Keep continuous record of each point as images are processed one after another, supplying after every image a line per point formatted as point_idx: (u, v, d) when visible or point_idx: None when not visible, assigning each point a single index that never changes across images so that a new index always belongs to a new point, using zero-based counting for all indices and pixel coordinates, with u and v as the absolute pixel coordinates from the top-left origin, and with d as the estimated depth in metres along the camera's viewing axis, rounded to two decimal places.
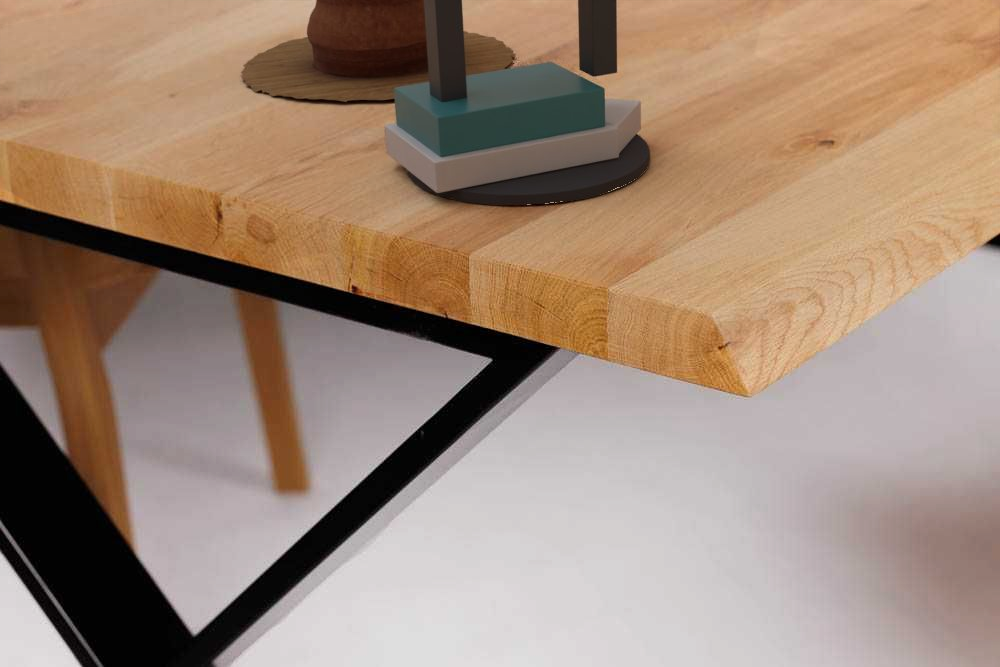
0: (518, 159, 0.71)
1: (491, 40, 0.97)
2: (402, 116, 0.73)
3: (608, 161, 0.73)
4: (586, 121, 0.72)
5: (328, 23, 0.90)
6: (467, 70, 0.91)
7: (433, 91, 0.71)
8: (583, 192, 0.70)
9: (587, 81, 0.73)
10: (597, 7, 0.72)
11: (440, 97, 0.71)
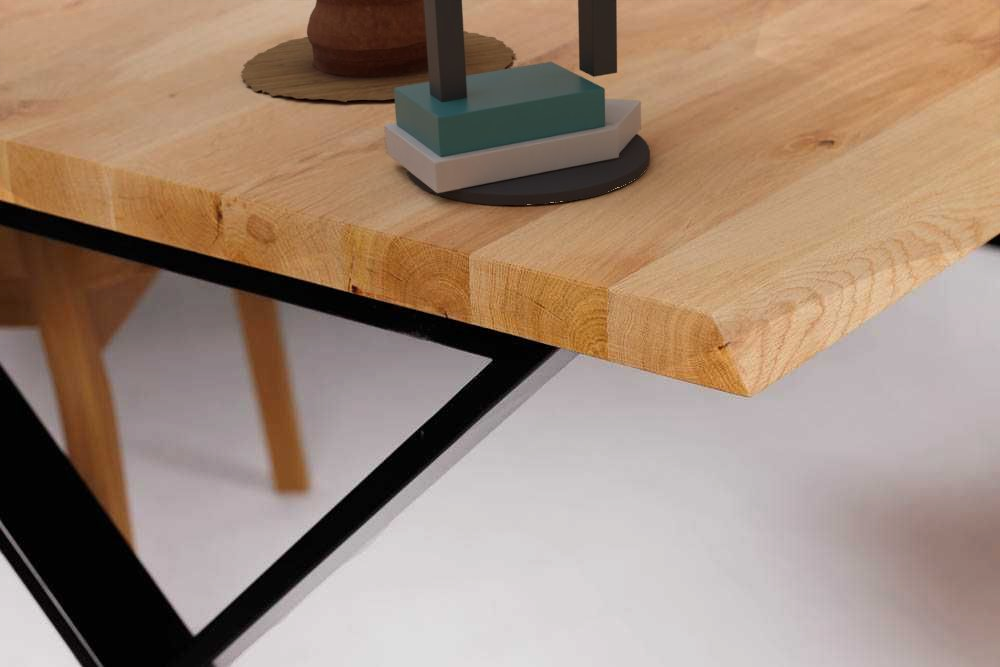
0: (518, 159, 0.71)
1: (491, 40, 0.97)
2: (402, 116, 0.73)
3: (608, 161, 0.73)
4: (586, 121, 0.72)
5: (328, 23, 0.90)
6: (467, 70, 0.91)
7: (433, 91, 0.71)
8: (583, 192, 0.70)
9: (587, 81, 0.73)
10: (597, 7, 0.72)
11: (440, 97, 0.71)
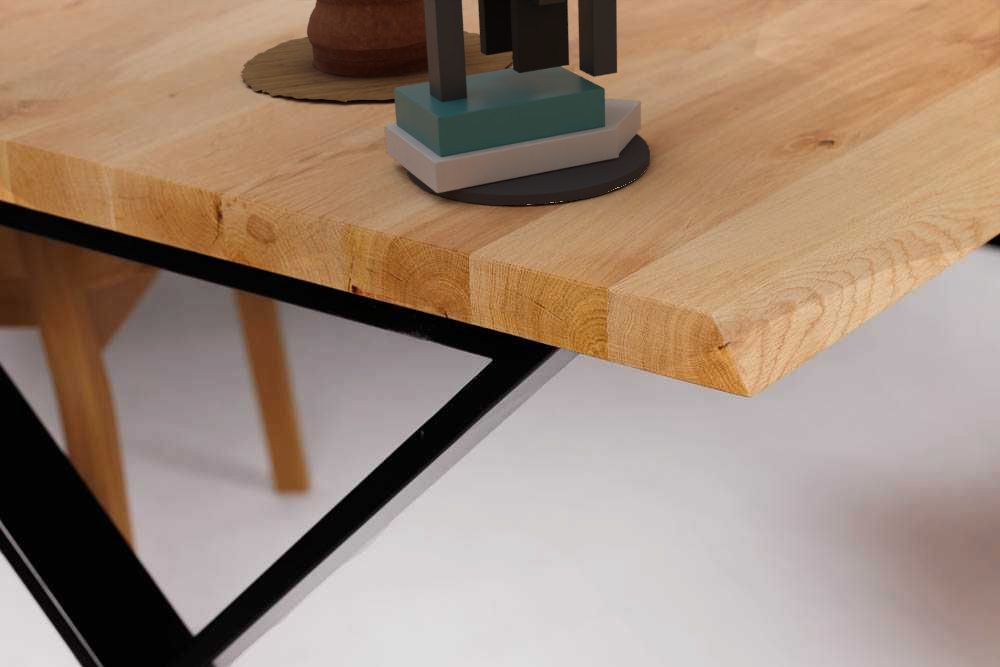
0: (518, 159, 0.71)
1: None
2: (402, 116, 0.73)
3: (608, 161, 0.73)
4: (586, 121, 0.72)
5: (328, 23, 0.90)
6: (467, 70, 0.91)
7: (433, 91, 0.71)
8: (583, 192, 0.70)
9: (587, 81, 0.73)
10: (597, 7, 0.72)
11: (440, 97, 0.71)
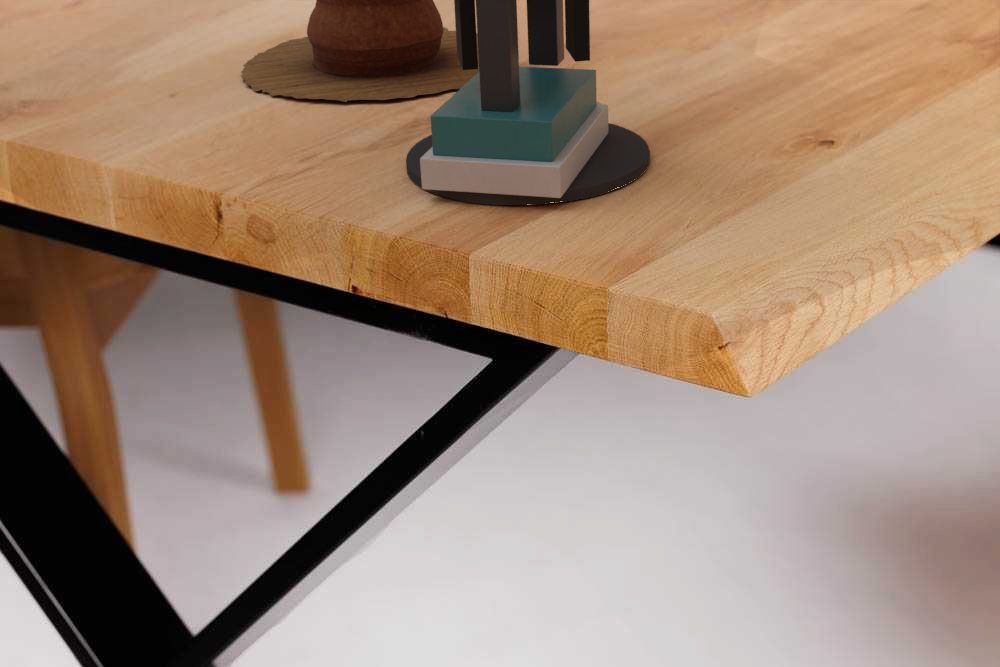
0: (582, 150, 0.71)
1: None
2: (451, 141, 0.69)
3: (608, 161, 0.73)
4: (591, 104, 0.75)
5: (328, 23, 0.90)
6: (467, 70, 0.91)
7: (492, 105, 0.69)
8: (583, 192, 0.70)
9: (567, 69, 0.75)
10: None
11: (509, 107, 0.69)
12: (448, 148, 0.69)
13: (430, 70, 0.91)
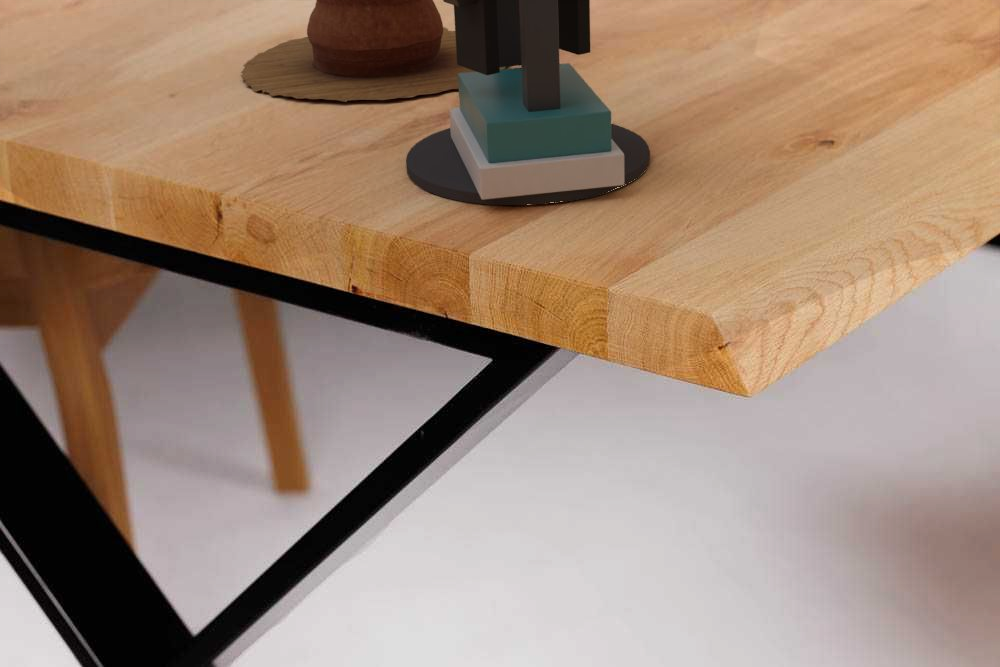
0: None
1: None
2: (508, 146, 0.68)
3: None
4: None
5: (328, 23, 0.90)
6: (467, 70, 0.91)
7: (540, 104, 0.69)
8: (583, 192, 0.70)
9: None
10: None
11: (558, 104, 0.69)
12: (505, 153, 0.68)
13: (430, 70, 0.91)
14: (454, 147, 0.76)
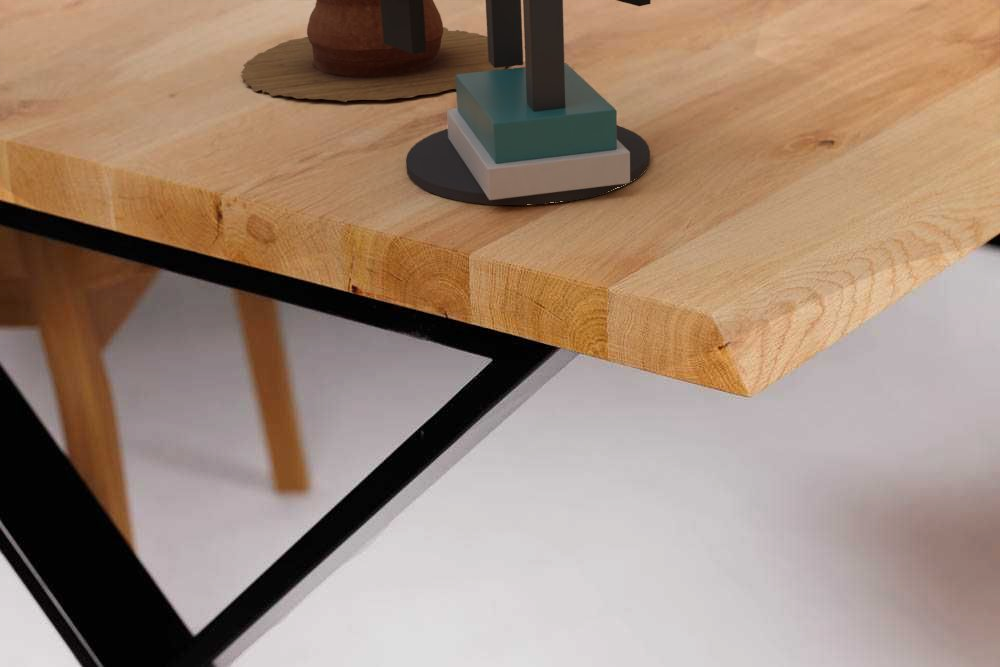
0: None
1: None
2: (515, 146, 0.68)
3: None
4: None
5: (328, 23, 0.90)
6: (467, 70, 0.91)
7: (545, 104, 0.69)
8: (583, 192, 0.70)
9: None
10: None
11: (563, 104, 0.69)
12: (512, 154, 0.68)
13: (430, 70, 0.91)
14: (454, 147, 0.76)
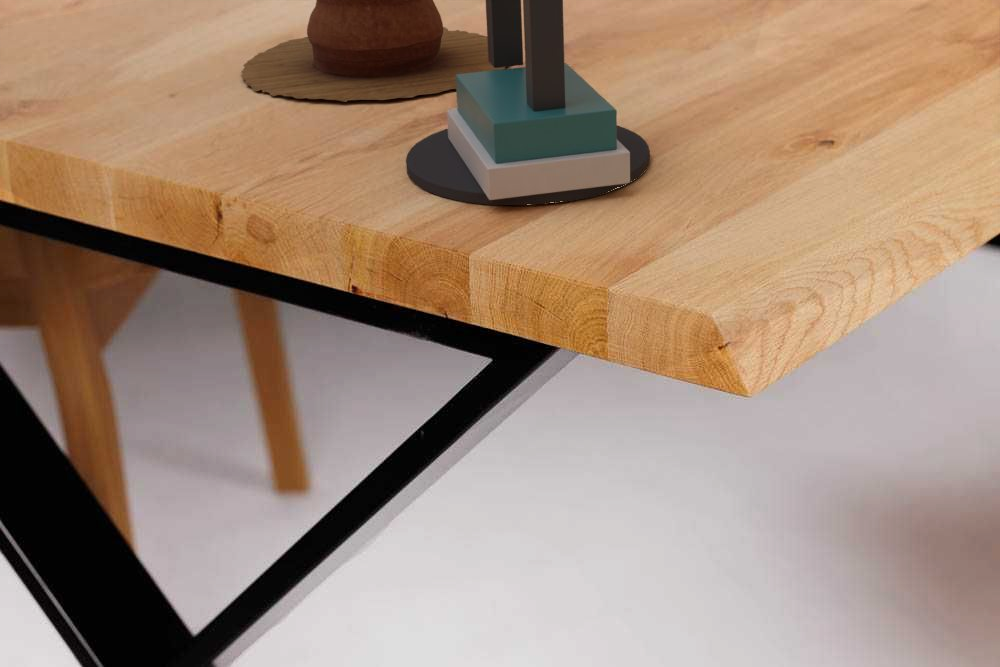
0: None
1: None
2: (515, 146, 0.68)
3: None
4: None
5: (328, 23, 0.90)
6: (467, 70, 0.91)
7: (545, 104, 0.69)
8: (583, 192, 0.70)
9: None
10: None
11: (563, 104, 0.69)
12: (512, 154, 0.68)
13: (430, 70, 0.91)
14: (454, 147, 0.76)
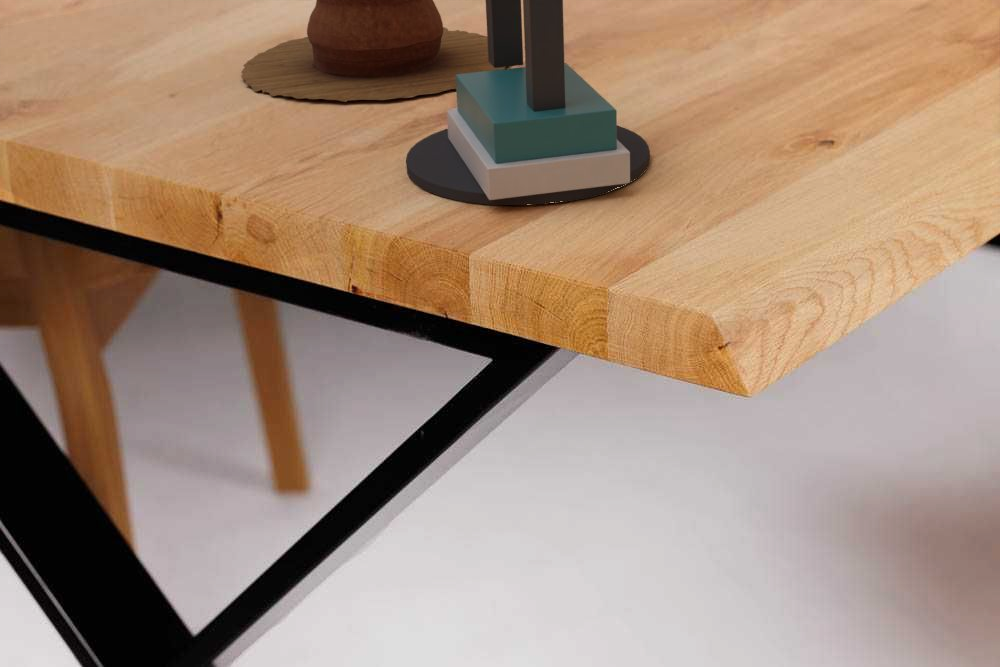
0: None
1: None
2: (515, 146, 0.68)
3: None
4: None
5: (328, 23, 0.90)
6: (467, 70, 0.91)
7: (545, 104, 0.69)
8: (583, 192, 0.70)
9: None
10: None
11: (563, 104, 0.69)
12: (512, 154, 0.68)
13: (430, 70, 0.91)
14: (454, 147, 0.76)
